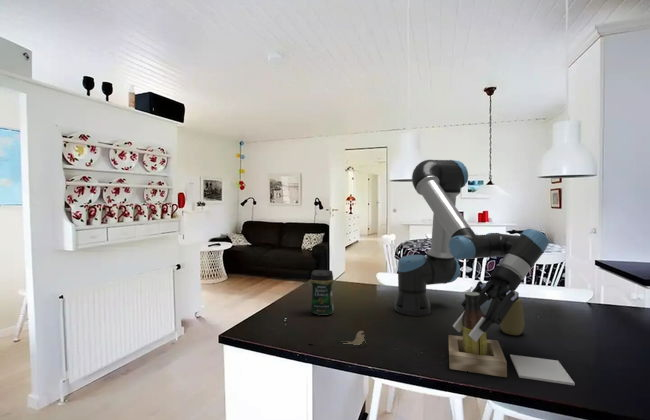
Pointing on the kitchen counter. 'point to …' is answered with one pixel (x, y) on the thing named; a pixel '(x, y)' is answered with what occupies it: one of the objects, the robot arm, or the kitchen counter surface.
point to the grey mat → (541, 369)
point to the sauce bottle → (473, 325)
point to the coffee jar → (322, 292)
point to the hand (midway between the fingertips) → (464, 333)
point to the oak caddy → (477, 358)
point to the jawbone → (357, 339)
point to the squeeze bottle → (514, 319)
